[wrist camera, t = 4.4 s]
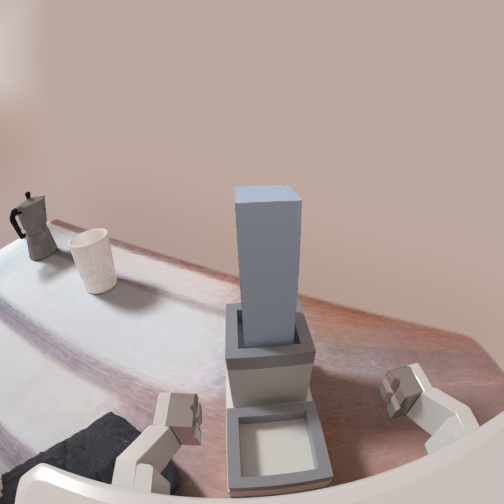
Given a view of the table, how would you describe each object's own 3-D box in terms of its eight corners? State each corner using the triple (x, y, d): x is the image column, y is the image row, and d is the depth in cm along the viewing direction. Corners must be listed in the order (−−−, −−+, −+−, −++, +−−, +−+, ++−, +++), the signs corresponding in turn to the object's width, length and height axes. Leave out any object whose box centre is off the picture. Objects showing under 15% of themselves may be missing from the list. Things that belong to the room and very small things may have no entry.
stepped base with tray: (326, 486, 17) (356, 449, 13) (230, 497, 17) (214, 466, 12) (297, 361, 32) (304, 295, 27) (228, 366, 31) (219, 301, 27)
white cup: (126, 274, 51) (114, 227, 47) (109, 297, 44) (94, 246, 40) (95, 273, 52) (82, 229, 47) (77, 295, 44) (60, 247, 40)
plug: (292, 352, 22) (301, 200, 17) (245, 356, 22) (235, 203, 16) (284, 318, 27) (287, 183, 21) (243, 321, 26) (234, 185, 20)
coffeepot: (45, 243, 68) (31, 187, 59) (66, 242, 67) (52, 182, 59) (16, 268, 54) (-4, 205, 46) (36, 269, 54) (16, 200, 45)
